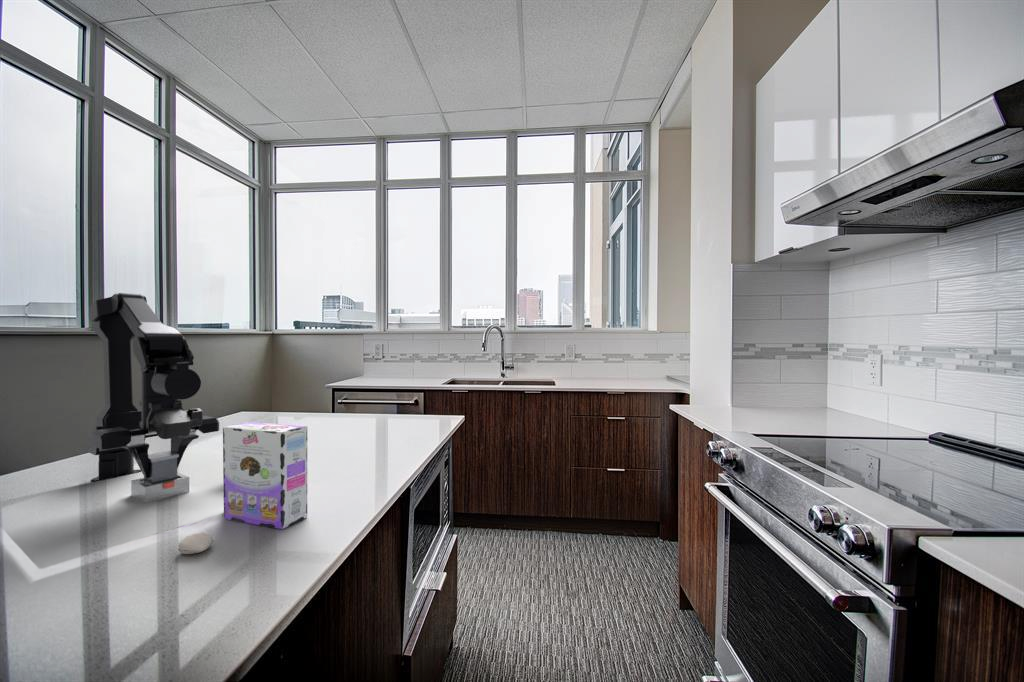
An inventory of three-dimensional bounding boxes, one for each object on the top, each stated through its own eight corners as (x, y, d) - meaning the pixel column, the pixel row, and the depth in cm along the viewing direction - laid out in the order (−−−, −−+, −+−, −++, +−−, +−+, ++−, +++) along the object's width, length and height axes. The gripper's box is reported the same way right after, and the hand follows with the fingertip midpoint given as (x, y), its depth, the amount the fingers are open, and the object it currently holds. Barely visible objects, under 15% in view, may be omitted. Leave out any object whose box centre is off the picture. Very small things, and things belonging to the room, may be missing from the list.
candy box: (309, 517, 77) (309, 425, 77) (281, 531, 72) (282, 431, 72) (251, 507, 82) (251, 419, 82) (221, 519, 76) (221, 425, 76)
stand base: (109, 502, 83) (109, 481, 83) (183, 484, 94) (183, 466, 94) (133, 516, 77) (133, 494, 77) (209, 495, 87) (209, 475, 87)
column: (141, 494, 85) (141, 455, 85) (169, 487, 88) (169, 450, 88) (150, 499, 82) (150, 459, 82) (179, 492, 86) (179, 454, 86)
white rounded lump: (208, 542, 68) (208, 526, 68) (219, 553, 65) (219, 536, 65) (174, 553, 64) (174, 536, 64) (184, 564, 61) (184, 546, 61)
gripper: (112, 405, 73) (112, 497, 73) (232, 393, 89) (232, 469, 89) (91, 399, 79) (91, 485, 79) (206, 389, 95) (206, 460, 95)
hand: (160, 474), depth 85 cm, fingers closed on column, 4 cm apart
